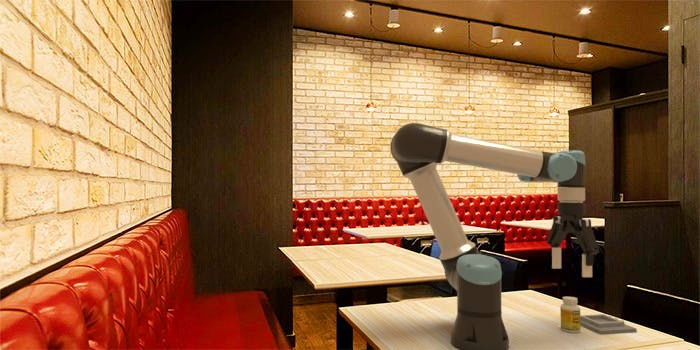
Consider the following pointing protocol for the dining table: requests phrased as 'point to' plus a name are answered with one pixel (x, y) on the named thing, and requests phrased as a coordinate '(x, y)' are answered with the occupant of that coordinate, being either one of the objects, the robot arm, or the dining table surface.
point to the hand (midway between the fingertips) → (571, 272)
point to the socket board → (605, 324)
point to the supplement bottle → (570, 315)
